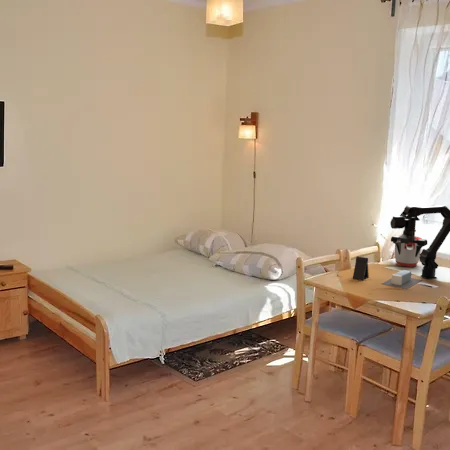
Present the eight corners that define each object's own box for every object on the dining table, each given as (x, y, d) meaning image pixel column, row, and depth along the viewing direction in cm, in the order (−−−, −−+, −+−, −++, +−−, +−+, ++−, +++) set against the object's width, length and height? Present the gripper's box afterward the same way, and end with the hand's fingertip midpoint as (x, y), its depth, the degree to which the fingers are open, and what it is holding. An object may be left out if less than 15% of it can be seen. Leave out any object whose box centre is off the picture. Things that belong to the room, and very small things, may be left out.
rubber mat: (397, 275, 312) (397, 275, 311) (421, 280, 303) (421, 279, 303) (381, 284, 295) (381, 283, 295) (407, 289, 286) (407, 288, 286)
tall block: (403, 269, 305) (392, 274, 294) (411, 271, 302) (400, 276, 291) (402, 278, 306) (391, 283, 295) (410, 279, 302) (399, 285, 292)
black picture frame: (362, 280, 301) (364, 259, 299) (352, 278, 304) (353, 258, 302) (368, 277, 308) (370, 256, 306) (358, 275, 312) (359, 254, 309)
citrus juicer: (394, 267, 329) (397, 235, 325) (391, 260, 346) (394, 229, 342) (422, 269, 326) (424, 236, 322) (417, 262, 343) (420, 231, 339)
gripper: (387, 228, 302) (386, 255, 305) (421, 232, 290) (419, 261, 293) (395, 225, 310) (393, 252, 313) (428, 229, 299) (426, 257, 302)
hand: (407, 255), depth 305 cm, fingers open, 9 cm apart
